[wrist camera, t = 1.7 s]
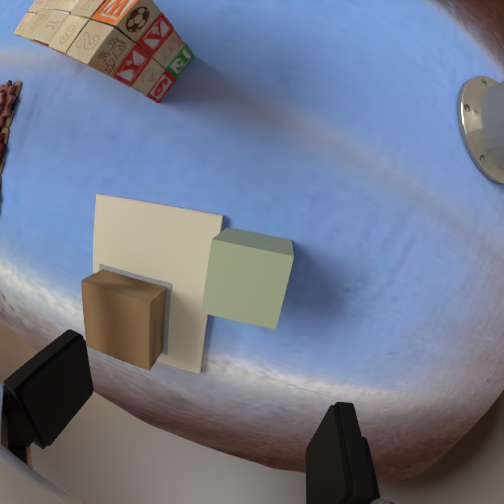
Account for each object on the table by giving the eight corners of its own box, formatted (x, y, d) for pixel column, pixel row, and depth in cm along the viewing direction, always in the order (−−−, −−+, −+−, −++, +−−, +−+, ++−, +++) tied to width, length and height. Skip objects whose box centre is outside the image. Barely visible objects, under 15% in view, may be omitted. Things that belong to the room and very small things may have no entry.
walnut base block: (166, 286, 27) (150, 302, 23) (163, 350, 29) (149, 370, 25) (102, 268, 28) (81, 280, 24) (104, 330, 30) (87, 346, 26)
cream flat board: (223, 215, 26) (222, 216, 25) (200, 370, 30) (199, 374, 30) (99, 193, 26) (96, 194, 26) (99, 336, 31) (96, 339, 30)
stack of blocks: (57, 51, 23) (-5, 27, 11) (83, 14, 21) (28, -19, 9) (160, 104, 24) (85, 64, 12) (197, 55, 22) (145, -10, 10)
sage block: (291, 240, 26) (294, 256, 20) (277, 299, 27) (275, 329, 21) (227, 226, 26) (211, 239, 20) (217, 286, 28) (201, 312, 22)
